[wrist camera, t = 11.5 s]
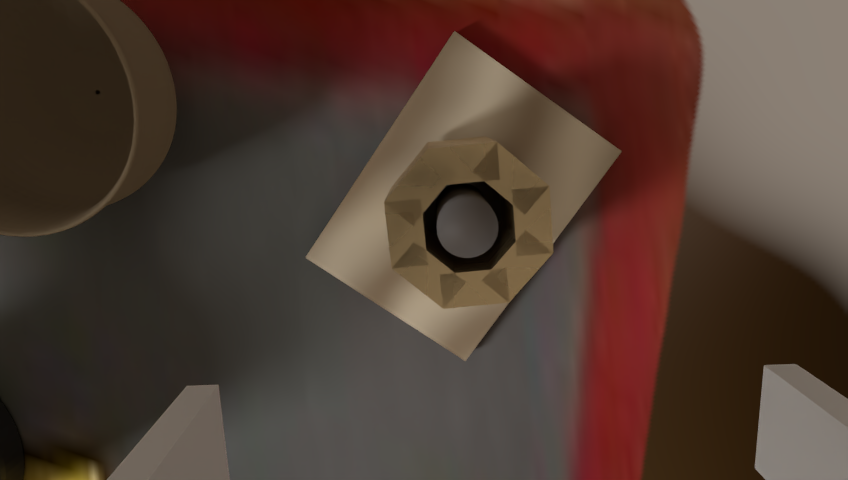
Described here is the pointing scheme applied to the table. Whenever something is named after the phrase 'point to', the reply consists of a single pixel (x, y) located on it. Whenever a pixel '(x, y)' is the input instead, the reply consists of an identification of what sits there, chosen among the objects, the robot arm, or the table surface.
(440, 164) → the collar
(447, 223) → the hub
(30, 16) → the bowl
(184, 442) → the robot arm
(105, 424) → the table surface
